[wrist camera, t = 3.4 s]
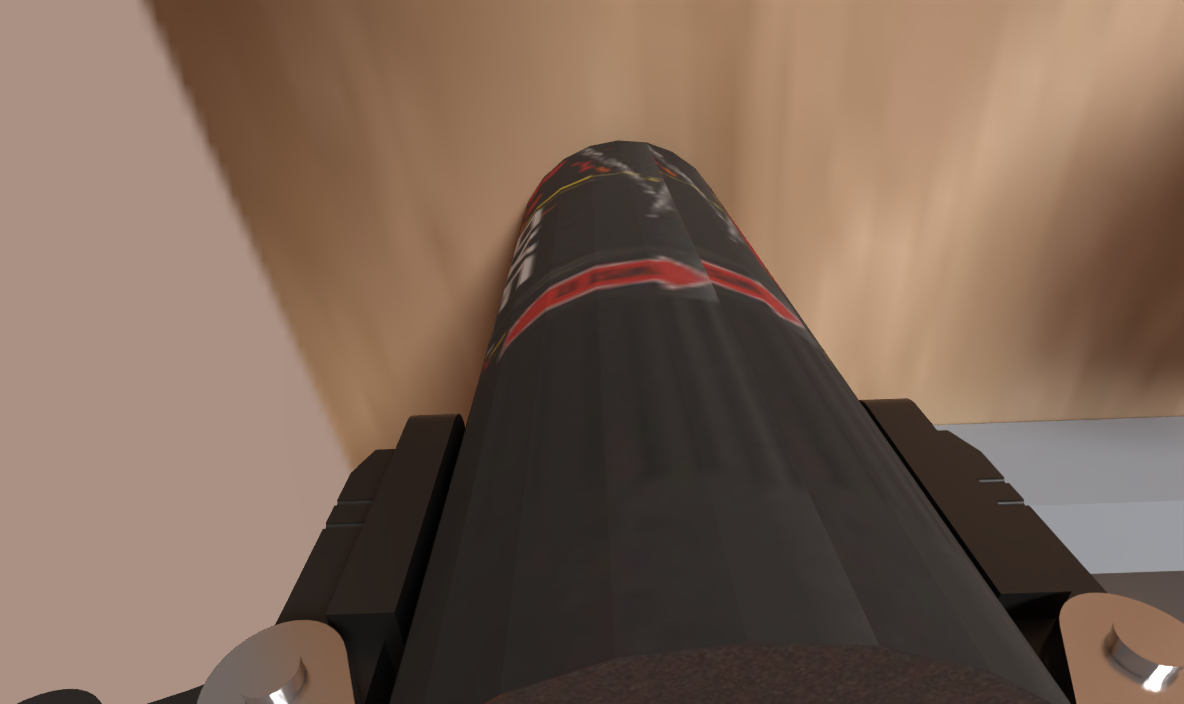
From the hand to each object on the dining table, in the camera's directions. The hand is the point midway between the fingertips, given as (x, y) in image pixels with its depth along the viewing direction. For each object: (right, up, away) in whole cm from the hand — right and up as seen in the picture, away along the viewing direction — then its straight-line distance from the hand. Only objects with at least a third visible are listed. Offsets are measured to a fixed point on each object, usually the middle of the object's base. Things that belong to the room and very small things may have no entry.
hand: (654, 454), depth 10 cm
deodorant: (0, +5, +9) cm, 10 cm away
